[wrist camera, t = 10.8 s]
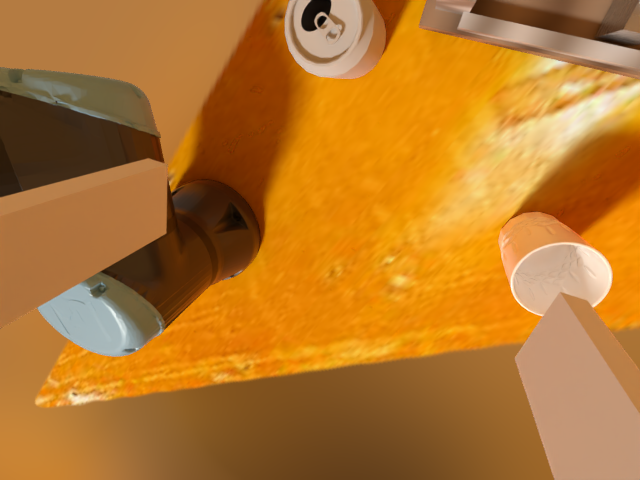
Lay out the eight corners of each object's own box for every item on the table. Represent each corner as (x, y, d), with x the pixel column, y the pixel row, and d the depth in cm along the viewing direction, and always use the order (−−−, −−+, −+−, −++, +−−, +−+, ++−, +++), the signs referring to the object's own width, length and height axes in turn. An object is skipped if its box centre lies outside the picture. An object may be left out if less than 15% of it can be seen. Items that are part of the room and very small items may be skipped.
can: (355, -20, 34) (324, -67, 24) (402, 40, 35) (392, 21, 25) (304, 40, 38) (258, 23, 27) (348, 94, 39) (320, 97, 28)
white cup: (524, 193, 38) (553, 225, 29) (587, 229, 38) (636, 272, 29) (478, 247, 42) (492, 289, 33) (535, 279, 42) (564, 332, 33)
